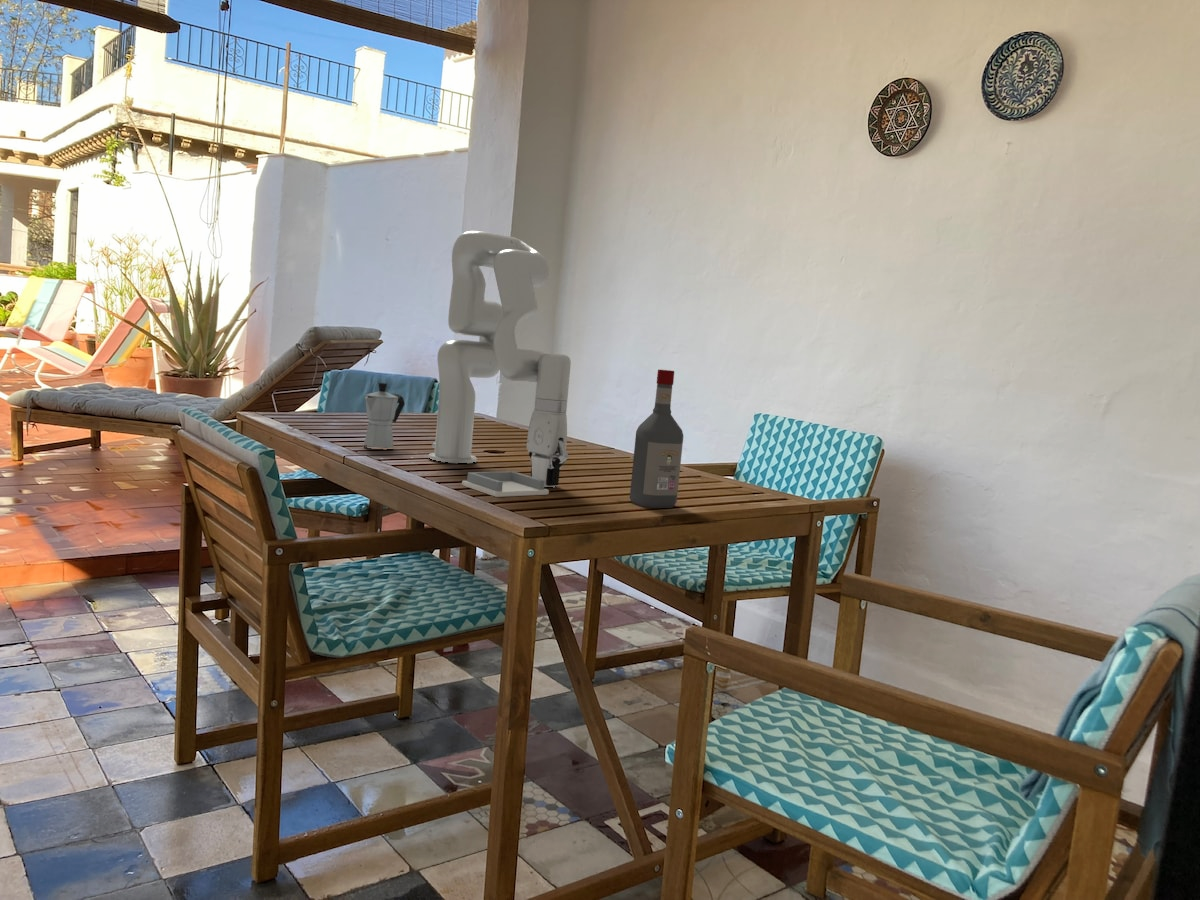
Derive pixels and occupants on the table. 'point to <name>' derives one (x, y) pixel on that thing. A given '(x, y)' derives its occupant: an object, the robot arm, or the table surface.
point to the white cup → (540, 467)
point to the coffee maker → (382, 416)
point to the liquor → (657, 452)
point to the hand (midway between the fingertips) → (544, 482)
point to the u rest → (505, 484)
